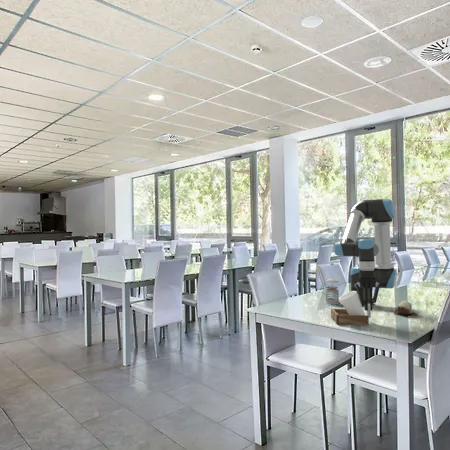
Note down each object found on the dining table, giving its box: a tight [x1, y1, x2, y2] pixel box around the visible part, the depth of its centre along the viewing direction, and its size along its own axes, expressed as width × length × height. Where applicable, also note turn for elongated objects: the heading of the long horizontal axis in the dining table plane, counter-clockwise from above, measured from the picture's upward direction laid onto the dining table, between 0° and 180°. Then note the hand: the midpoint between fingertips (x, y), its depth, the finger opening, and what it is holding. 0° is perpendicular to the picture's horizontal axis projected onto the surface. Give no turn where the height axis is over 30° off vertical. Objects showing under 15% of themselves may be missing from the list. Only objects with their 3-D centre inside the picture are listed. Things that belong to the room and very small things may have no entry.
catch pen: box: [330, 308, 370, 326], centre depth 197 cm, size 16×15×4 cm
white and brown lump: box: [393, 300, 419, 318], centre depth 212 cm, size 12×10×10 cm
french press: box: [320, 262, 341, 305], centre depth 247 cm, size 10×12×25 cm
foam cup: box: [339, 290, 366, 315], centre depth 196 cm, size 10×9×13 cm
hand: (368, 317), depth 195 cm, fingers closed
